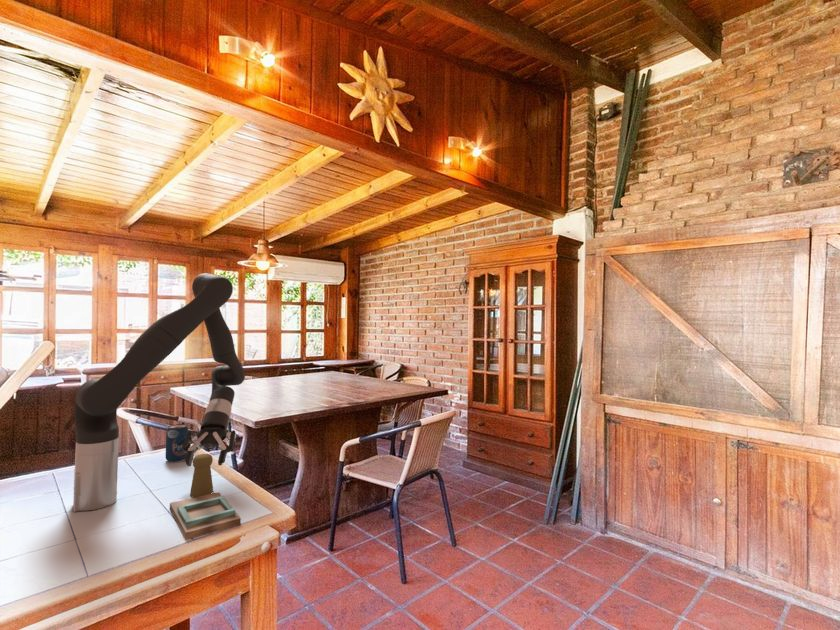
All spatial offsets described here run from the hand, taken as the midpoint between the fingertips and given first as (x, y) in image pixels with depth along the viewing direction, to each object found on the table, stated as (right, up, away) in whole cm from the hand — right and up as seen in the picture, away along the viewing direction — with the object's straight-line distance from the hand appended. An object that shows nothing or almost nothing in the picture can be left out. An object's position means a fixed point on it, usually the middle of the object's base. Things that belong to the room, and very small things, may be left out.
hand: (204, 464), depth 124 cm
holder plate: (+8, -7, -16) cm, 19 cm away
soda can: (-24, -8, +27) cm, 37 cm away
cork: (0, -8, -2) cm, 8 cm away
